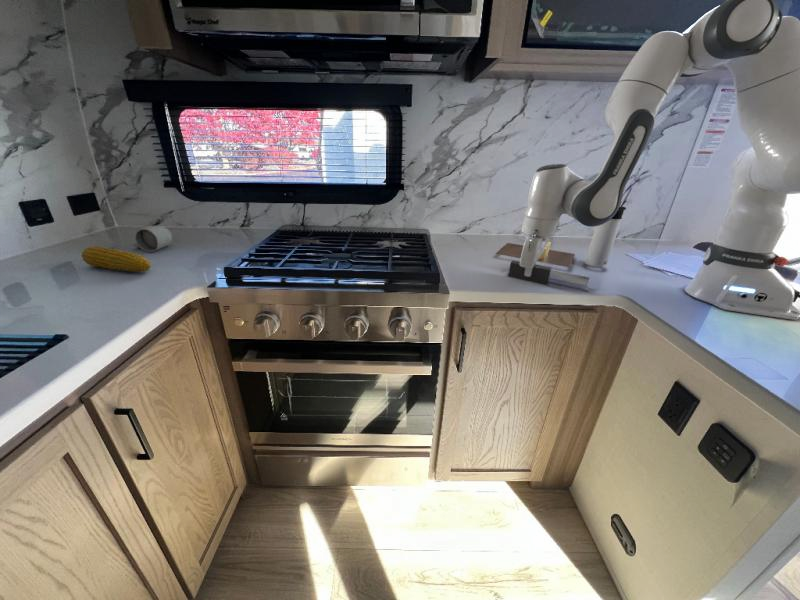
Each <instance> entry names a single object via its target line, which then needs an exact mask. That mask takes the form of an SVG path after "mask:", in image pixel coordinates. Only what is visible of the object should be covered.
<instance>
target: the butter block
mask: <svg viewBox="0 0 800 600" xmlns="http://www.w3.org/2000/svg"><path fill="white" fill-rule="evenodd" d="M551 243H552V242H551V241H548V242H547V245H546V247H547V252H546V255H547V253H548V252H549V250H550V247H551Z"/></svg>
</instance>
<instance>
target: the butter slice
mask: <svg viewBox="0 0 800 600" xmlns="http://www.w3.org/2000/svg"><path fill="white" fill-rule="evenodd" d="M546 252H547V247H546V248H545V250H544V252H543V253H542V255H541V256H540V259H544V258H545V256H546Z"/></svg>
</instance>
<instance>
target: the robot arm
mask: <svg viewBox="0 0 800 600" xmlns="http://www.w3.org/2000/svg"><path fill="white" fill-rule="evenodd" d="M722 66H723V67H726V68H727V69H728V70H729V71H730V73H731V76H732V77H733V88H734V94H735V95H734V96H735V101H736V109H737V115H738V122H739V128H740V129H741V130H742V131H743V132H744V134H745V135H746V137H747V138H748V140H749V142H750V144H751V146H750V147H748V148H747V149H745V150H743V151H742V152H741V153H739V155H738V156H737V157H736V158H735V160H734V161H733V163H732V167H731V173H732V178H733V179H732V184H731V191H730V195H729V201H728V205H727V210H726V213H725V216H724V218H723V221H722V223H721V225H720V227H719V229H718V232H717V234H716V236H715V238H714V241H711V243H710V245H709V246H708V248H707V249H706V251H705V254H704V256H703V259H702V264H701V266H700V268H699V269H698V270H697V272H696V274H695V275H694V277H693V278H692V279H691V281H689V283H688V284H687V285H686V286H685V287H684V292H685V293H687V294H688V295H689V296H692V297H693V298H696V299H697V300H700V301H703V302H705V303H709V304H711V305H713V306H714V307H717V308H720V309H721V310H724V311H729V312H730V311H731V312H738V313H742V314H743V313H744V314H751V315H756V316H757V315H758V316H764V317H772V318H778V319H785V320H792V321H798V320H799V319H800V310H799V309H798V308H797V307H795V306H794V305H793V303H796V301H797V299H800V291H798V290H797V289H795V288H794V287H793V286H792V285H791V284H790V282H788V280H786V278H784V276H783V275H782V274H780V272H779V271H777V270H776V268H775V267H776V266H778V267H779V268H781V267H785V266H788V264H789V260H788V259H787V258H785V257H784V256H780V255H778V254H777V253H775V252H773V251H774V249H775V247H776V246H777V244H778V243H779V240H780V238H781V237H782V235H783V233H784V231H785V229H786V227H787V225H788V223H789V215H788V209H787V208H788V200H789V196H790V195H797V194H800V18H799V19H798V17H795V16H792V15H784V16H783V13H782V11H781V10H780V9H779V6H778V3H777V2H776V0H724V2H722V3H721V4H719V5H718V6H716V7H714V8H713V9H711V10H709V11H708V12H706V13H705V14H703V15H702V16H700V17H699V19H698V20H696V22H694V23H693V24H691V26H689V27H688V28H686V29H684V31H682V32H681V33H680V32H677V31H673V30H671V31H670V30H665V31H660V32H657V33H655V34H653V35H651V36H650V37H648V38H647V39H646V40H645V42H644V43H643V44H641V47H640V48H639V49H638V50H637V52H636V53H635V54H634V56H633V57H632V58H631V60H630V62H629V63H628V65H627V66H626V67H625V69H624V71H623V73H622V74H621V76H620V78H619V80H618V81H617V83H616V84H615V87H614V89H613V90H612V92H611V94H610V97H609V98H608V101H607V104H606V107H605V109H604V117H605V121H606V123H607V125H608V126H609V127H610V129H611V130H612V131H613V134H614V137H613V143H612V146H611V148H610V150H609V152H608V154H607V157H606V158H605V160H604V162H603V165H602V167H601V168H600V170H599V172H598V174H597V176H596V177H595V178H594V179H593V180H590V179H587V178H585V177H583V176H581V175H579V174H577V173H575V172H574V171H573V170H571V168H569V166H568V165H567V164H564V163H557V164H556V163H553V164H547V165H543V166H540V167H538V168H537V169H536V171H535V172H534V175H533V177H532V179H531V183H530V186H529V190H528V196H527V208H526V210H525V212H524V216H523V220H522V226H521V233H523V234H525V235H524V238H525V240H524V243H523V245H524V246H523V250H522V254H521V258H519V262H520V266H521V267H525V274H524V275H525V276H528V277H530V276H531V274H532V269H533V267H534V265H537V263H538V259H539V258H540V256H541V255H542V253H543V252H544V250H545V248H546V245H547V242H549V239H550V237H551V238H552V237H554V236H556V232H557V227H558V223H559V219H560V216H561V215H567V216H568V217H570V218H573V219H574V220H576V221H577V222H578V223H580V224H581V225H583V226H586V227H591V228H593V227H595V226H599V225H602V224H604V223H606V222H607V221H609V220H610V219H611V218H612V217H613V216H614V215H615V214H616V213H617V211H618V209H619V207H621V204H622V200H623V196H624V195H623V194H624V191H625V188H626V185H627V184H628V181H629V179H630V177H631V175H632V173H633V171H634V169H635V167H636V165H637V164H638V161H639V159H640V158H641V156H642V153H643V151H644V149H645V147H646V146H647V144H648V141H649V139H650V138H651V135H652V133H653V130H654V127H655V121H656V118H657V115H658V113H659V111H660V109H661V107H662V106H663V104H664V102H665V101H666V99H667V97H668V95H669V94H670V92H671V90H672V88H673V87H674V84H675V83H676V82H677V81H678V79H679V78H691V77H696V76H699V75H702V74H704V73H707V72H711V71H712V70H715V69H717V68H720V67H722Z"/></svg>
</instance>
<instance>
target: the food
mask: <svg viewBox="0 0 800 600" xmlns="http://www.w3.org/2000/svg"><path fill="white" fill-rule="evenodd" d="M81 258H82V260H83V262H84V263H85V264H87V265H88V266H89V265H90V266H93V267H97V268H103V269H110V270H115V271H125V272H131V273H132V272H135V273H141V272H146V271H149V270H150V269H151V264H150V263H151V262H150V261H149V260H148V259H147V258H146V257H145V256H143V255H142V256H141V255H140V254H137V253H135V252H129V251H124V250H119V249H113V248H108V247H107V248H106V247H101V246H88V247H86V248H85V249H84V250H83V251H82V252H81Z"/></svg>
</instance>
